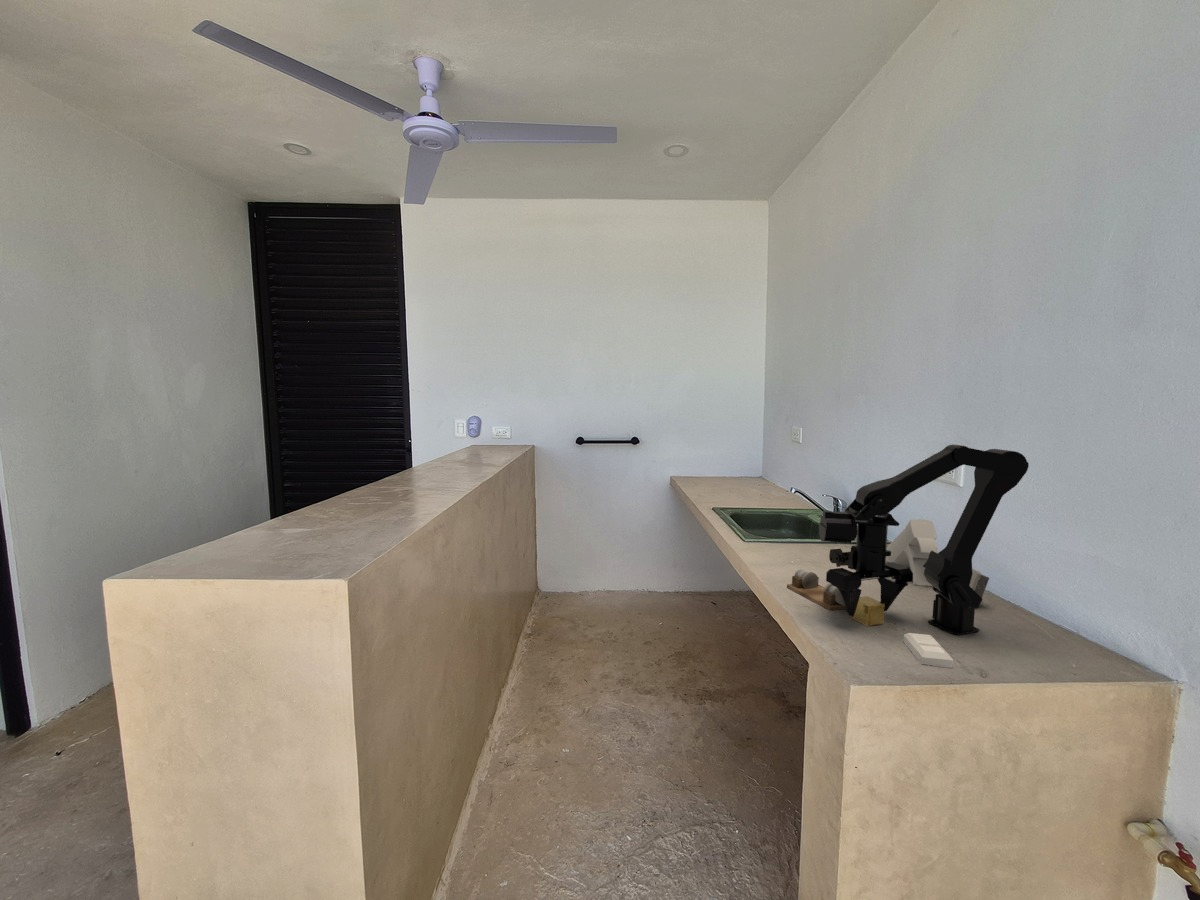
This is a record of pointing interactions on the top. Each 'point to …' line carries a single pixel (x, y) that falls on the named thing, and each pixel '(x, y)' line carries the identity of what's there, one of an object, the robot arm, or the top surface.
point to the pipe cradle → (816, 590)
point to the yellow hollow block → (869, 611)
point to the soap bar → (927, 650)
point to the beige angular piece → (914, 548)
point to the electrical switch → (978, 582)
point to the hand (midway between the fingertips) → (867, 613)
